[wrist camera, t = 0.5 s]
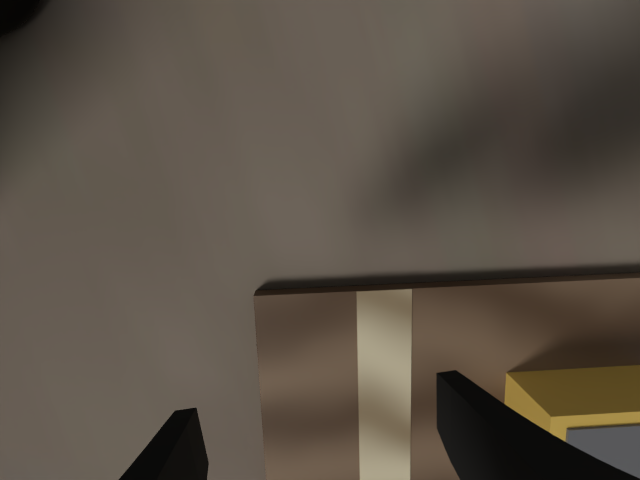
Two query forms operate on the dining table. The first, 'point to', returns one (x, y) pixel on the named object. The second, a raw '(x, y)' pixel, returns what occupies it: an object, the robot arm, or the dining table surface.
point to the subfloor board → (417, 362)
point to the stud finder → (584, 409)
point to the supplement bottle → (15, 13)
